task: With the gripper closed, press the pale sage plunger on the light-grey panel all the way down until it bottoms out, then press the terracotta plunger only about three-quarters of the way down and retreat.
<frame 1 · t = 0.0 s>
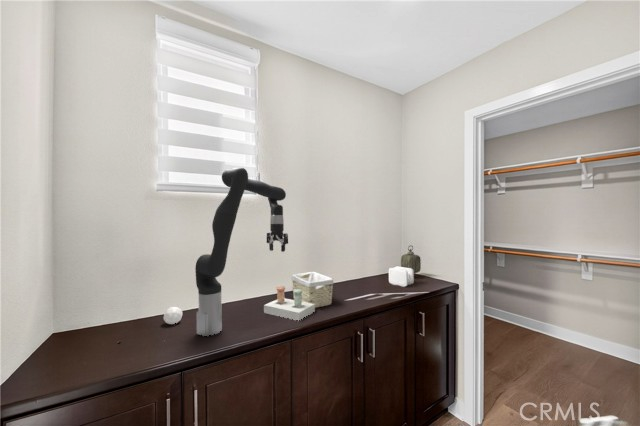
hand: (277, 251, 155), 29 cm above the worktop, fingers open, 8 cm apart
terracotta plunger: (280, 294, 141), point 8 cm above the worktop, slide at 0.0 cm
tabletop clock: (411, 277, 209), on the worktop
panel: (289, 312, 138), on the worktop
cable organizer: (400, 284, 189), on the worktop
geometric ball: (173, 323, 125), on the worktop
storage basket: (312, 302, 154), on the worktop
sage plunger: (297, 297, 135), point 9 cm above the worktop, slide at 0.0 cm
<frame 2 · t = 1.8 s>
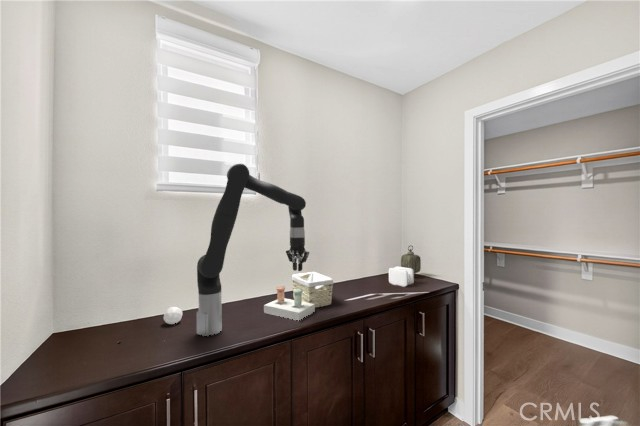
hand: (297, 270, 135), 22 cm above the worktop, fingers closed
nothing on the worktop moved.
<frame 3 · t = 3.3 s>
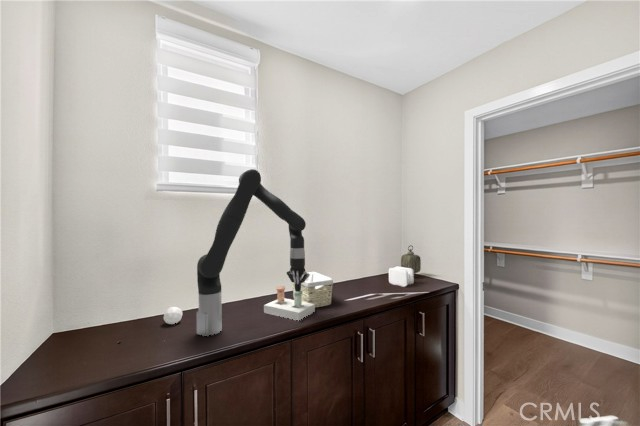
hand: (297, 291, 135), 12 cm above the worktop, fingers closed
sage plunger: (297, 298, 135), point 8 cm above the worktop, slide at 0.3 cm, touching gripper
everything else where it was.
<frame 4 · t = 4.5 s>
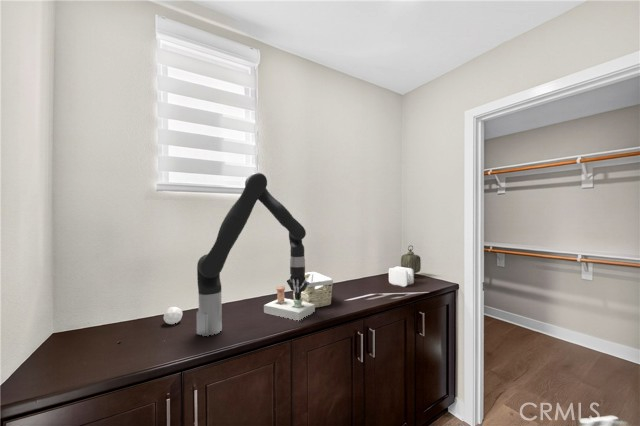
hand: (298, 299, 135), 7 cm above the worktop, fingers closed
sage plunger: (298, 306, 135), point 4 cm above the worktop, slide at 4.5 cm, touching gripper
everything else where it was.
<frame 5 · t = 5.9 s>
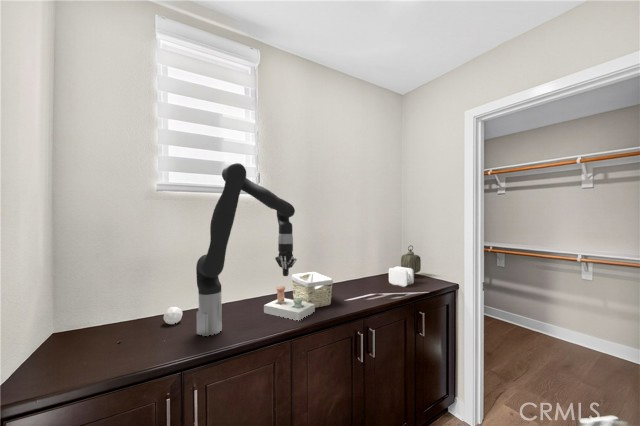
hand: (285, 275, 138), 19 cm above the worktop, fingers closed
sage plunger: (298, 306, 135), point 4 cm above the worktop, slide at 4.5 cm
everything else where it was.
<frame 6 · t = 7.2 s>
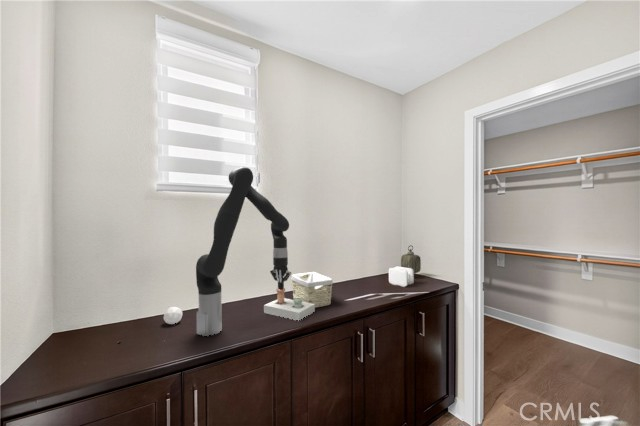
hand: (280, 289, 141), 11 cm above the worktop, fingers closed
terracotta plunger: (280, 295, 141), point 8 cm above the worktop, slide at 0.8 cm, touching gripper
everything else where it was.
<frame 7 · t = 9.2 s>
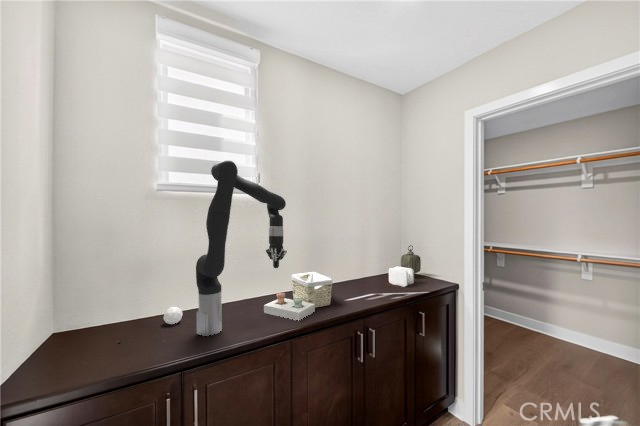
hand: (276, 267, 140), 22 cm above the worktop, fingers closed
terracotta plunger: (280, 300, 140), point 5 cm above the worktop, slide at 3.4 cm
everything else where it was.
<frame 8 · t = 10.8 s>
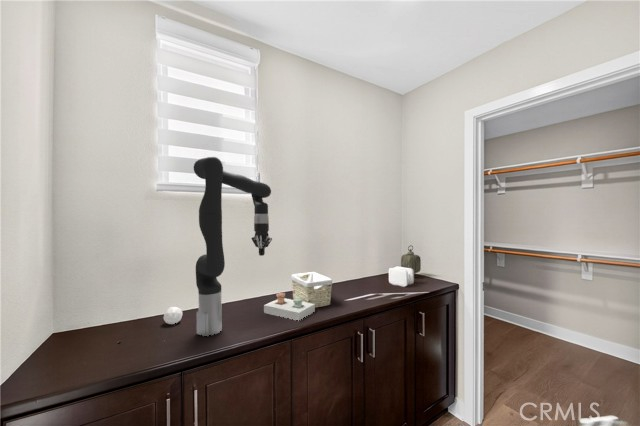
hand: (261, 255, 141), 29 cm above the worktop, fingers closed
nothing on the worktop moved.
at the end: sage plunger slide at 4.5 cm; terracotta plunger slide at 3.4 cm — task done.
